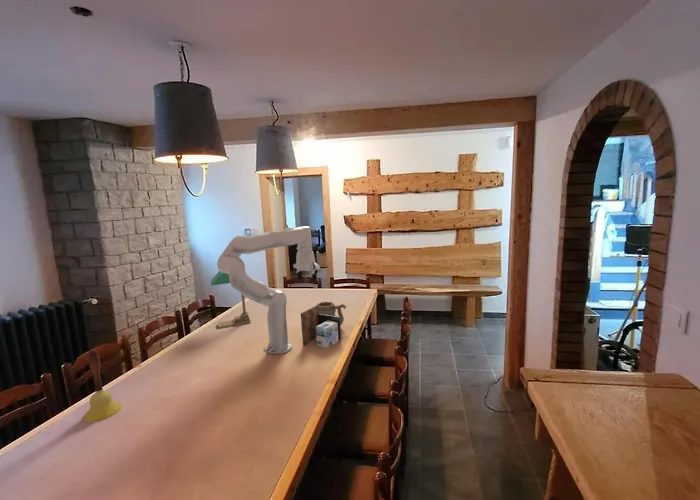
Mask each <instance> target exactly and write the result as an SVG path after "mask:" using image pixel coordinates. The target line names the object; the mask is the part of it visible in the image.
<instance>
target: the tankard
mask: <svg viewBox="0 0 700 500" xmlns="http://www.w3.org/2000/svg"><path fill="white" fill-rule="evenodd" d="M316 305H318V310H319V314H324V315H331V316H337V315H336V312H337V314H338V317H340V324H341V326H342V325H343V323H344V321H345V320H344V315H343V311H342V309H344V310H345V309H346V308H347V305H345V304H344V303H341V304H339V305H335V304H334V302H333V301H323V302H322V301H321V302H318V303H317V304H316ZM316 305H315V306H316Z"/></svg>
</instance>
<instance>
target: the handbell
mask: <svg viewBox="0 0 700 500" xmlns="http://www.w3.org/2000/svg"><path fill="white" fill-rule="evenodd" d="M88 364H89V365H88V367H89V368H90V371H91V372H92V375H93V376H92V377H93V382H94V388H95V389H94V390H95V392H94V393H93V394H92V395H91V396H90V398H89V407H90V408H89V409H88V410H87V411H86V412H85V414H84V415H83V417H82V419H83V421H84V422H86V423H96V422H95V421H97V422H100V420H101V421H104V420H107V419H109V418H111V417H113V416H115V415H116V414H118V413H119V412H120V411H121V410H122V408H123V406H122V404H121V403H120V402H117V401H114V400H113V399H112V398H113V397H112V395H111V392H110V391H107V390H104V389H103V384H102V378H101V366H102V365H101V359H100V355H99V354H98V350H97V349H96V348H95V349H92V348H91V349H90V350H89V351H88ZM121 407H122V408H121ZM117 412H118V413H117ZM112 415H113V416H112ZM108 417H109V418H108ZM106 418H107V419H106ZM103 419H104V420H103Z"/></svg>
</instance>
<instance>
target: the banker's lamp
mask: <svg viewBox="0 0 700 500" xmlns="http://www.w3.org/2000/svg"><path fill="white" fill-rule="evenodd" d="M227 284H231V283H230V280H229V274H227V273H223V272H221V271H220V270H219V271H218V272H217V273H216V274H215V275H214V277H213V278H212V279H211V280H210V286H218V285H227ZM240 294H241V304H242V305H241V306H242V313H240V315H237V316H235V317H234V318H232V319H231V320H227V321H217V327H218V329H224V328H230V327H235V326H242V325H247V324H252V323H251V319H250V317H249V312H247V311H246V302H245V296H243V294H242V293H241V292H240Z"/></svg>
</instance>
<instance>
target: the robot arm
mask: <svg viewBox="0 0 700 500" xmlns="http://www.w3.org/2000/svg"><path fill="white" fill-rule="evenodd" d="M312 240H313V239H312V229H311V227H310V226H308V225H307V226H305V225H304V226H298V227H289V226H288V227H286V228H284V229H283V230H282V231H266V232H260V233H256V234H251V235H237V236H235V237H233V238H232V240H231V241H230V242H229V243H228V245H227V246H226V248H225V249H224V250H223V251H222V253H221V254H220V256H219V257H218V258H217V263H216V264H217V265H216V266H217V267H216V268H217V269H218V270H219V271H221V272H223V273H227V274H229V280H230V283H229V284H230V285H231V287H232V288H233V290H236V291H237V292H240V294H241V293H242V294H243V296H244V298H247V299H248V300H251V301H253V302H255V303H258V304H260V305H262V306H265V307H267V308H268V310H267V315H266V318H267V331H268V342H269V343H268V344H267V345H268V346H267V347H264V348H263V352H264V353H269V354H270V355H271V354H272V355H280V354H281V355H282V354H286V353H288V352H290V351H291V350H292V344H291V343H290V342H289V336H288V321H287V311H286V310H287V303H288V302H287V296H286V293H284V292H283V291H282V290H280V289H277V288H272V287H268V285H266V283H265V282H263V281H260V280H257V279H255V278H254V277H251V276H250V275H248V274H247V272H246V265H245V262H244V260H242V258H241V256H242V254H243V255H252V254H255V253H259V252H263V251H267V250H270V249H277V248H282V247H288V246H289V247H291V246H293V245H297V247H296V250H297V252H296V260H295V261H296V262H295V263H293V265H292V266H293V269H294V271H295V273H296V275H297V281H301V280H303V272H311V278H312V279H311V280H312V282H313V283H315V282H317V281H318V273H319V271H320V268H321V266H320V264H318V263H316V257H315V254H314V251H313V245H312V244H313V243H312Z"/></svg>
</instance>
